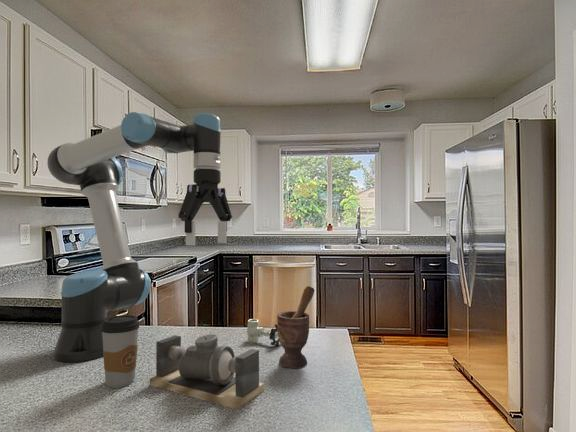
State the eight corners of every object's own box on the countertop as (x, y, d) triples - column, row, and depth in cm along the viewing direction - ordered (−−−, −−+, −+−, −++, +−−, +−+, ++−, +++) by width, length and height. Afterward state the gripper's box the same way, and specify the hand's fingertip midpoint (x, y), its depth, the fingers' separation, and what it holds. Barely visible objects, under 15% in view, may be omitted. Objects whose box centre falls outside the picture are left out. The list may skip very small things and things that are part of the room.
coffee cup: (114, 393, 84) (115, 325, 85) (93, 384, 89) (93, 320, 89) (146, 379, 91) (146, 317, 92) (125, 372, 96) (125, 313, 96)
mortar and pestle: (291, 353, 110) (290, 283, 110) (319, 357, 106) (318, 285, 106) (271, 366, 100) (271, 290, 100) (301, 372, 96) (301, 292, 96)
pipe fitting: (239, 374, 88) (233, 331, 88) (221, 391, 81) (214, 344, 81) (197, 373, 93) (190, 332, 93) (176, 389, 85) (169, 344, 85)
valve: (241, 342, 120) (271, 349, 114) (241, 321, 120) (271, 327, 114) (254, 337, 126) (284, 343, 119) (254, 317, 126) (284, 322, 119)
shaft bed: (149, 385, 88) (149, 344, 88) (180, 370, 97) (180, 333, 97) (237, 409, 77) (237, 361, 77) (263, 390, 85) (263, 347, 86)
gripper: (186, 162, 95) (186, 246, 95) (243, 173, 117) (243, 242, 117) (164, 164, 99) (164, 246, 99) (223, 175, 121) (223, 242, 121)
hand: (207, 244), depth 108 cm, fingers open, 13 cm apart
